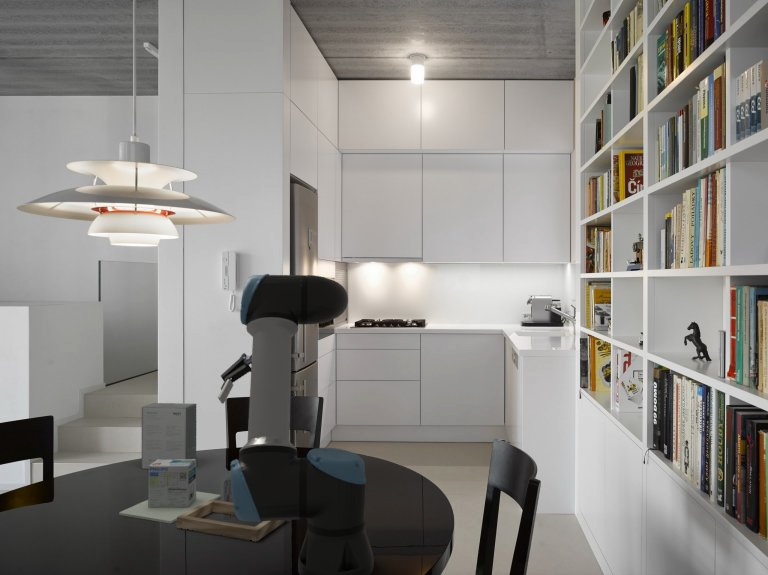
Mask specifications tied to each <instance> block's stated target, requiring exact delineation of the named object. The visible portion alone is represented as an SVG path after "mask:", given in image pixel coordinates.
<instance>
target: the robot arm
mask: <svg viewBox="0 0 768 575" xmlns="http://www.w3.org/2000/svg"><path fill="white" fill-rule="evenodd" d="M348 296H349V295H348V293H347V290H346V289H345V287H344V286H343V285H342V284H340V283H339V282H338V281H336V280H333V279H331V278H327V277H325V276H320V275H314V274H313V275H311V274H307V275H305V274H304V275H300V274H269V273H265V274H256V275H255V274H254V275H251V276H249V277H248V278H247V280H246V281H245V283H244V286H243V289H242V294H241V300H240V311H239V312H240V313H239V314H240V315H239V316H240V318H239V320H240V322H241V324H242V325H244V326H246V331H247V333H248V334H249V335H250V336H251V337H252V347H251V348H252V349H251V350H252V351H251V355H247V354H246V352H245V353H242V354H241V356H240V357H239V358H238V359H237V360H236V361H235V362H234V363H233V364H232V365H230V367H228V368H227V369H226V370H225V371H224V372H223V373H222V374H221V375H220V377H221V379H222V380H223V383H222V385H221V386H220V392H219V394H218V396H217V399H218V400H219V402H220V403H221V404H225V403H226V400H228V397H229V395H230V393H231V391H232V390H233V387H234V383H235V382H236V381H238V380H239V379H241V378H242V377H244V376H245V375H246V374H248V373H250V385H249V386H250V388H249V405H248V406H249V407H248V423H247V424H248V425H247V426H248V428H247V429H248V430H247V441H246V443H245V444H244V445H243V446H242V447H241V448H240V449H239V455H238V459H237V458H236V459H234V460H232V461H231V462H230V487H231V499H232V503H233V506H234V511H235V515H236V518H237V519H238V521H241V522H258V523H262V522H263V521H274V520H286V521H292V520H293V521H295V520H307V522H306V523H307V526H306V527H307V529H306V533H305V537H304V540H303V543H302V547H301V549H300V551H299V555H298V560H297V562H298V565H297V567H298V568H297V572H298V574H299V575H372V573H373V571H374V564H375V562H374V559H375V558H374V553H373V551H372V547H371V544H370V540H369V537H368V534H367V531H366V483H367V478H366V468H365V467H366V465H365V461H364V460H363V458H362V457H361V456H360V455H358V454H357V453H355V452H352V451H349V450H345V449H340V448H333V447H319V448H316V447H315V448H312V449H311V450H309V451H308V453H307V454H306V457H298V450H297V447H296V446H295V445H294V444H293V443H292V442H291V394H292V393H291V389H292V388H291V387H292V386H291V382H292V378H291V377H292V372H291V371H292V338H293V337H294V336H295V335H297V333H298V332H299V325H318V324H322V323H326V322H330V321H332V320H335V319H338V318H339V317H340V316H341V315H343V314H344V312H345V311H346V309H347V307H348V303H349V297H348ZM250 365H251V366H250ZM235 515H234V516H235Z"/></svg>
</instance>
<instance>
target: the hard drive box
mask: <svg viewBox="0 0 768 575" xmlns="http://www.w3.org/2000/svg"><path fill="white" fill-rule="evenodd" d="M157 459H160V460H173V459H196V460H197V403H188V402H187V403H183V402H182V403H179V402H173V403H171V402H154V403H149V404H145V405H143V406H141V469H142V470H143V469H144V470H148V467H149V465H151V464H152V463H153V462H155V461H156V460H157Z"/></svg>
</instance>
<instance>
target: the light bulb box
mask: <svg viewBox="0 0 768 575" xmlns="http://www.w3.org/2000/svg"><path fill="white" fill-rule="evenodd" d="M147 470H148V471H147V472H148V474H147V475H148V476H147V478H148V480H147V484H148V485H147V486H148V489H147V498H148V499H147V500H148V507H189V506H190V505H191V503H192V502H193V501H194V500H195V499H196V491H197V458H196V459H173V460H160V459H157V460H156V461H155V462H153V463H152V464H151V465H149V467H148V469H147Z"/></svg>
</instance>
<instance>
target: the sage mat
mask: <svg viewBox="0 0 768 575" xmlns="http://www.w3.org/2000/svg"><path fill="white" fill-rule="evenodd" d="M221 498H222V494H216V493H211V492H204V491H203V492H202V491H197V490H196V499H195V500H194V501H193V502H192V503H191V505H190V506H189V507H148V499H146V500H144V501H142V502H139V503H137V504H135V505H133V506H130V507H128V508H126V509H124V510H121V511H119V512H118V515H119V516H123V517H124V516H125V517H129V518H133V519H134V518H135V519H142V520H145V521H154V522H159V523H165V524H173V523H175V522H177V517H178V516H180V515H182V514H184V513H186V512H188V511H190V510H192V509H194V508H195V507H197V506H199V505H201V504H203V503H205V502H207V501H209V500H211V499H212V500H219V499H221Z"/></svg>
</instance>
